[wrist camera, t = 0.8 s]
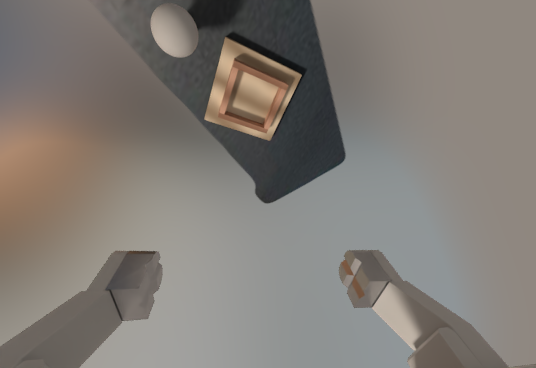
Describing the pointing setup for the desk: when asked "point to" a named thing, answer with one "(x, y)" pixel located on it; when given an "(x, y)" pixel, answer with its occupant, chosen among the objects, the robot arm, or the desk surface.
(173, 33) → the light bulb
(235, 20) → the desk surface
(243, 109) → the docking base
